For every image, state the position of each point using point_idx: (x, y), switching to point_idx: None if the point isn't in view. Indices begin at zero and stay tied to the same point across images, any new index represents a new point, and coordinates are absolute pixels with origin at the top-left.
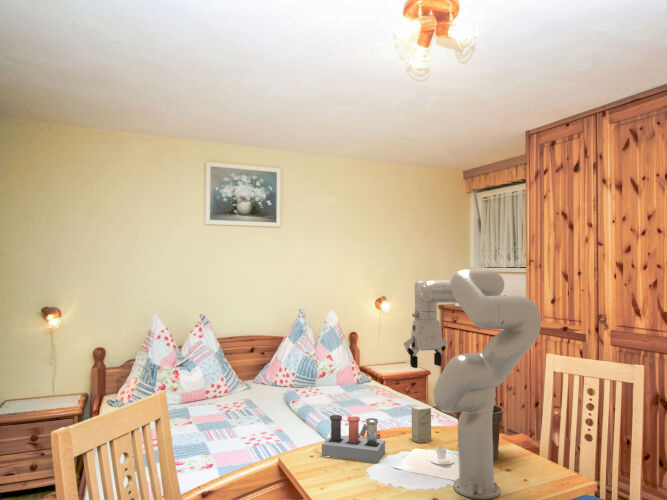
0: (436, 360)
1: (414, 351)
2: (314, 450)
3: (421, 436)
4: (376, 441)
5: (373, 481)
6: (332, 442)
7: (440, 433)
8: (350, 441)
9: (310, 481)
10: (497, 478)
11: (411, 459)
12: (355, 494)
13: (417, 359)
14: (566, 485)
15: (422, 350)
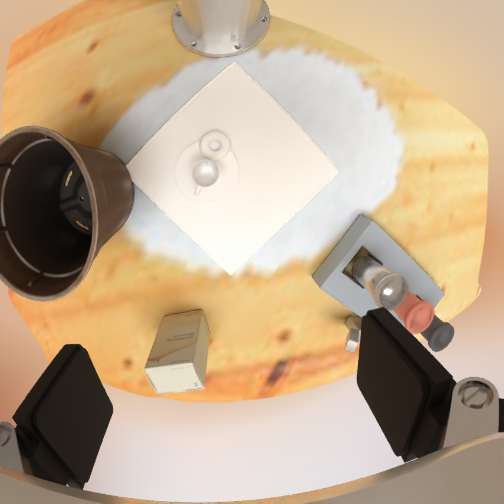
0: (86, 412)
1: (496, 425)
2: None
3: (192, 318)
4: (360, 261)
5: (402, 128)
6: (426, 299)
7: (123, 352)
8: None
9: (479, 179)
10: (138, 56)
11: (276, 207)
12: (441, 98)
13: (406, 362)
14: (51, 24)
15: (428, 456)
